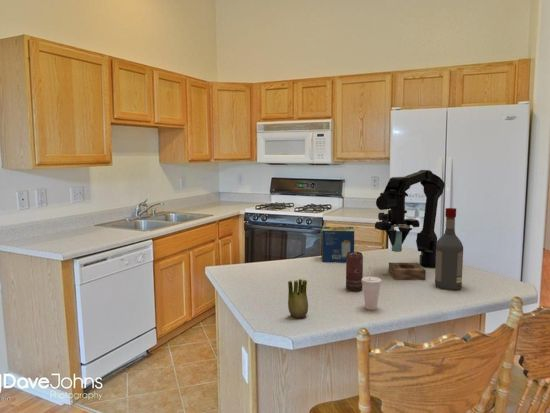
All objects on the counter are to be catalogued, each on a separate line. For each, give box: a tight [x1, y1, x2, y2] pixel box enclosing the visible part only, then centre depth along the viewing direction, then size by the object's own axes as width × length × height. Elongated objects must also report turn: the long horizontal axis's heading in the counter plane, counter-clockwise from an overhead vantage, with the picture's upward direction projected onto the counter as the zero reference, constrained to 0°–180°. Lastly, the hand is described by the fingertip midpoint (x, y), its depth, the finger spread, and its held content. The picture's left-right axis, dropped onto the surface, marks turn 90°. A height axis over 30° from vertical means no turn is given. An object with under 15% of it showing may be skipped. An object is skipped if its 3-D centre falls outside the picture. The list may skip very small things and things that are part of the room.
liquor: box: [434, 207, 464, 291], centre depth 155 cm, size 9×9×30 cm
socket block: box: [388, 262, 427, 281], centre depth 171 cm, size 12×12×4 cm
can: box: [345, 250, 364, 293], centre depth 154 cm, size 6×6×14 cm
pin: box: [391, 230, 403, 253], centre depth 171 cm, size 4×4×8 cm
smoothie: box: [362, 266, 382, 311], centre depth 135 cm, size 6×6×14 cm
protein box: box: [321, 226, 355, 264], centre depth 197 cm, size 10×15×16 cm
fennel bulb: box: [287, 278, 309, 319], centre depth 128 cm, size 6×5×12 cm
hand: (396, 244), depth 171 cm, fingers closed on pin, 4 cm apart
